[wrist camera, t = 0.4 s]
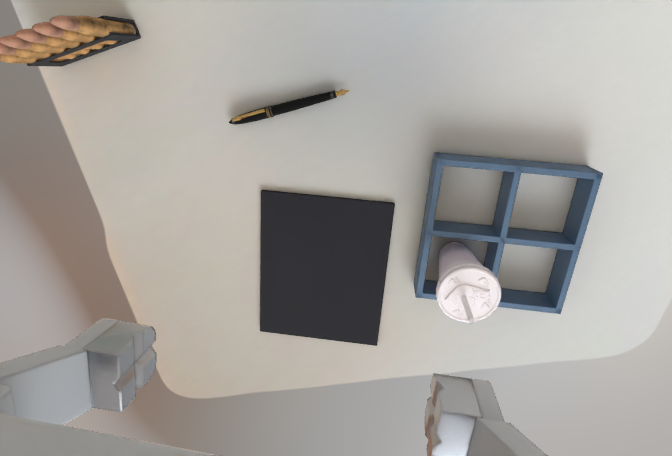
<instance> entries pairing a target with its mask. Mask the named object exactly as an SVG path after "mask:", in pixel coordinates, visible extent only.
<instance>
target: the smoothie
mask: <svg viewBox="0 0 672 456" xmlns="http://www.w3.org/2000/svg"><path fill="white" fill-rule="evenodd" d="M436 298H437V301H438V304H439V306H440V308H441V310H442V311H443V312H444V313H445V314H446V315H447V316H449V317H450V318H452V319H454V320H457V321H461V322H469V323H474V322H475V321H479V320H482V319H484V318H486V317H487V316H489V315H490V314H492V313H493V312H494V310H495V309H496V308H497V306H498V305H499V302H500V299H501V288H500V285H499V282H498V279H497V278H496V276H495V275H494V273H493V272H491V271H490V270H489V269H488V268H486V267H484V266H483V265H482V264H481V263H480V262H479V261H478V260H477V258H476V257H475V256H474V255H473V254H472V253H471V251H470V250H469V249H468V248H467V247H466V246H465V245H464V244H462V243H458V242H452V243H449V244H447V245H445V246H444V247H443V248H442V249H441V251H440V253H439V281H438V283H437V287H436Z"/></svg>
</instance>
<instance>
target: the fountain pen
mask: <svg viewBox="0 0 672 456" xmlns="http://www.w3.org/2000/svg"><path fill="white" fill-rule="evenodd" d="M348 91H350V90H343V89H342V90H340V91H335V90H334V91H331V92H327V93H322V94H318V95H314V96H310V97H306V98H301V99H297V100H293V101H289V102H286V103H282V104H278V105H274V106H268V107H264V108H261V109H257V110H254V111H251V112H248V113H245V114H242V115H239V116H237V117H235V118H232V120H231V121H230V122H229V123H231V124H243V123H248V122H253V121H258V120H262V119H266V118H269V117H273V116H275V115H278V114H282V113H285V112H289V111H293V110H296V109H300V108H303V107H307V106H310V105H313V104H317V103H320V102H323V101H326V100H330V99H333V98H336V97H337V96H338V95H344V94H345V93H346V92H348Z"/></svg>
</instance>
